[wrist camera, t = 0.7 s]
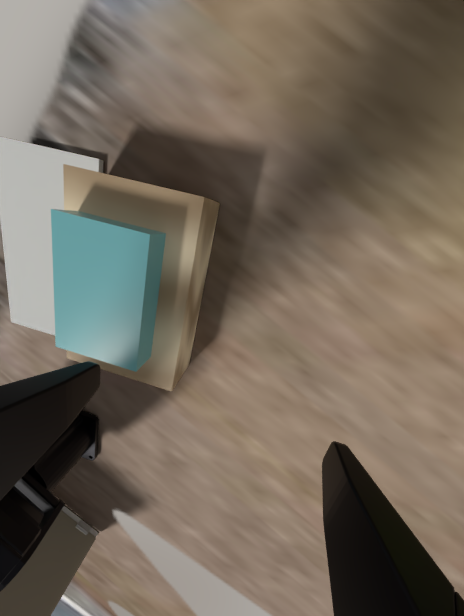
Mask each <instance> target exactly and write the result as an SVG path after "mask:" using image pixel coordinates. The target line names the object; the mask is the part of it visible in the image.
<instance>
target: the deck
mask: <svg viewBox="0 0 464 616" xmlns="http://www.w3.org/2000/svg"><path fill="white" fill-rule="evenodd" d="M63 177H64V210H72V211H80V212H84V213H88V214H92V215H96V216H100V217H104V218H108V219H112V220H116V221H119V222H123V223H127V224H131V225H135V226H139V227H143V228H147V229H151V230H155V231H159V232H163V233H166V238H165V246H164V254H163V262H162V270H161V278H160V287H159V295H158V303H157V311H156V319H155V327H154V335H153V343H152V351H151V357H150V358H149V359H148V360H147V361H146V362H145V363H144V364H143V365H142V366H141V367H140V368H139V369H138V371H137V372H135V371H132V370H129V369H125V368H122V367H119V366H116V365H113V364H110V363H106V362H103V361H100V360H97V359H94V358H91V357H87V356H84V355H81V354H78V353H75V352H72V351H68V350H67V358H68V359H71V360H74V361H77V362H80V363H83V362H87V361H90V362H93V363H97V364H99V365H100V369H102V370H105V371H108V372H111V373H115V374H118V375H121V376H124V377H127V378H130V379H133V380H137V381H140V382H143V383H146V384H149V385H152V386H155V387H158V388H162V389H165V390H168V391H171V392H172V390H173V389H174V387H175V386H176V384H177V383H178V381H179V379H180V378H181V376H182V375H183V373H184V372H185V370H186V369H187V367H188V366H189V363H190V358H191V353H192V348H193V342H194V337H195V332H196V327H197V321H198V316H199V311H200V306H201V300H202V295H203V290H204V285H205V279H206V274H207V269H208V264H209V258H210V253H211V248H212V243H213V237H214V232H215V227H216V222H217V216H218V211H219V206H220V203H218V202H216V201H213V200H211V199H208V198H205V197H202V196H198V195H193V194H189V193H185V192H181V191H176V190H172V189H168V188H164V187H159V186H155V185H151V184H147V183H142V182H138V181H134V180H130V179H125V178H121V177H117V176H113V175H108V174H104V173H100V172H96V171H91V170H87V169H83V168H79V167H74V166H70V165H66V164H63Z"/></svg>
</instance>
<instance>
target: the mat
mask: <svg viewBox="0 0 464 616" xmlns="http://www.w3.org/2000/svg"><path fill="white" fill-rule="evenodd" d="M63 164H66V165H70V166H74V167H79V168H83V169H87V170H91V171H96V172H100V173H103V160H100V159H97V158H92V157H88V156H84V155H79V154H75V153H71V152H66V151H62V150H57V149H53V148H49V147H44V146H40V145H36V144H31V143H27V142H23V141H18V140H14V139H9V138H5V137H1V136H0V220H1V230H2V239H3V248H4V258H5V267H6V277H7V286H8V296H9V305H10V315H11V322H13V323H16V324H19V325H22V326H26V327H29V328H32V329H35V330H39V331H42V332H45V333H48V334H51V335H55V311H54V284H53V256H52V228H51V209H58V210H64V177H63Z"/></svg>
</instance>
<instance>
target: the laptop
mask: <svg viewBox="0 0 464 616" xmlns="http://www.w3.org/2000/svg"><path fill="white" fill-rule="evenodd" d="M97 535H98V532H97V531H96V530H94V529H93V528H92V527H90V526H89V525H88V524H87V523H85V522H84V521H83V520H82V519H80V518H79V517H78V516H77V515H75V514H74V513H73V512H72V511H70V510H69V509H68V508H66V507H65V506H64V507H63V508H62V510H61V511H60V513H59V514H58V516H57V517H56V519H55V520H54V522H53V524H52V525H51V527H50V528H49V530H48V531H47V533H46V534H45V536H44V538H43V539H42V541H41V542H40V544H39V545H38V547H37V548H36V550H35V551H34V553H33V554H32V556H31V557H30V559H29V560H28V561H27V563H26V564H25V565H24V566H23V568H22V569H21V570H20V571H19V573H18V574H17V575H16V576H15V577H14V578H13V579H12V581H11V582H10V583H9V584H8V585H7V586H6V587H5V588H4V589H3V590H2V591H1V592H0V616H51V614H52V612H53V611H54V609H55V607H56V605H57V604H58V602H59V600H60V599H61V597H62V595H63V594H64V592H65V590H66V588H67V587H68V585H69V583H70V582H71V580H72V578H73V577H74V575H75V573H76V571H77V570H78V568H79V566H80V565H81V563H82V561H83V560H84V558H85V556H86V554H87V553H88V551H89V549H90V548H91V546H92V544H93V543H94V541H95V537H96V536H97Z"/></svg>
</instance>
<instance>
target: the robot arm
mask: <svg viewBox="0 0 464 616" xmlns="http://www.w3.org/2000/svg"><path fill="white" fill-rule="evenodd" d="M99 385H100V365H99V364H97V363H93V362H90V361H87V362H83V363H80V364H76V365H73V366H69V367H66V368H62V369H59V370H55V371H51V372H48V373H44V374H41V375H37V376H34V377H30V378H27V379H23V380H20V381H16V382H13V383H9V384H6V385H2V386H0V592H1V591H2V590H3V589H4V588H5V587H6V586H7V585H8V584H9V583H10V582H11V581H12V579H13V578H14V577H15V576H16V575H17V574H18V573H19V571H20V570H21V569H22V568H23V566H24V565H25V564H26V563H27V561H28V560H29V559H30V557H31V556H32V554H33V553H34V551H35V550H36V548H37V547H38V545H39V544H40V542H41V541H42V539H43V538H44V536H45V534H46V533H47V531H48V530H49V528H50V527H51V525H52V524H53V522H54V520H55V519H56V517H57V516H58V514H59V513H60V511H61V510H62V508H63V507H64V505H65V503H63V502H62V501H61V500H60V501H59V500H58V499H57V498H56V497H55V496H54V495H53V494H52V493H51V492H52V490H53V489H54V488H55V487H56V486H57V485H58V483H59V482H60V481H61V480H62V479H63V478H64V476H65V475H66V474H67V473H68V472H69V471H70V469H71V468H72V467H73V466H74V465H75V464H76V462H77V461H78V460H79V459H80V458H81V457H83V458H86V459H89V460H94V459H95V458H96V457H97V443H98V418H97V417H96V416H95V415H92V414H89V413H86V412H83V411H81V410H82V409H83V408H84V406H85V405H86V404H87V402H88V401H89V400H90V398H91V397H92V396H93V395H94V393H95V392H96V391H97V389H98V388H99ZM322 486H323V522H324V532H325V541H326V550H327V558H328V567H329V576H330V584H331V593H332V602H333V610H334V616H464V600H463V599H462V597H461V596H460V595H459V593H457V592H455V590H454V587H453V586H452V584H451V583H450V582H449V580H448V579H447V578H446V576H445V575H444V574H443V572H442V571H441V570H440V568H439V567H438V566H437V564H436V563H435V562H434V560H433V559H432V558H431V556H430V555H429V554H428V552H427V551H426V550H425V548H424V547H423V546H422V545H421V543H420V542H419V541H418V539H417V538H416V537H415V535H414V534H413V533H412V531H411V530H410V529H409V527H408V526H407V525H406V523H405V522H404V521H403V519H402V518H401V517H400V515H399V514H398V513H397V511H396V510H395V509H394V507H393V506H392V505H391V503H390V502H389V501H388V499H387V498H386V497H385V495H384V494H383V493H382V491H381V490H380V489H379V487H378V486H377V485H376V483H375V482H374V481H373V479H372V478H371V477H370V475H369V474H368V473H367V471H366V470H365V469H364V467H363V466H362V465H361V464H360V462H359V461H358V460H357V458H356V457H355V456H354V454H353V453H352V452H351V450H350V449H349V448H348V446H346V445H345V444H342V443H339V442H335V441H334V442H332V443H331V444H330V446H329V448H328V450H327V452H326V454H325V456H324V458H323V462H322Z"/></svg>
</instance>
